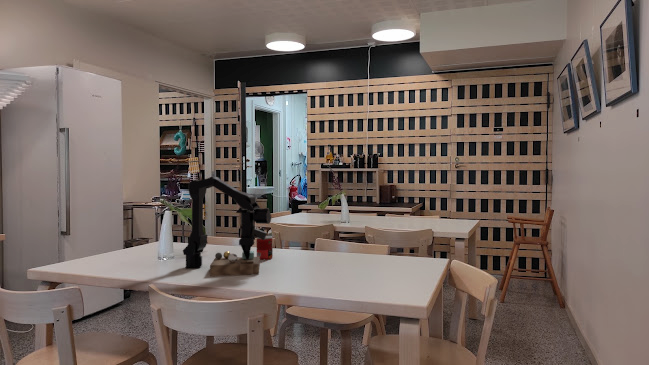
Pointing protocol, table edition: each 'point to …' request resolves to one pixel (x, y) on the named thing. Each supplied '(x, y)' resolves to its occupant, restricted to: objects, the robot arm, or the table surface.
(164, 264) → the table surface
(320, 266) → the table surface
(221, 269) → the board
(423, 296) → the table surface
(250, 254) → the teal block
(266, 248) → the canned food
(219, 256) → the black rubber ball
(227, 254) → the brass ball
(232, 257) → the steel ball
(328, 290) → the table surface
